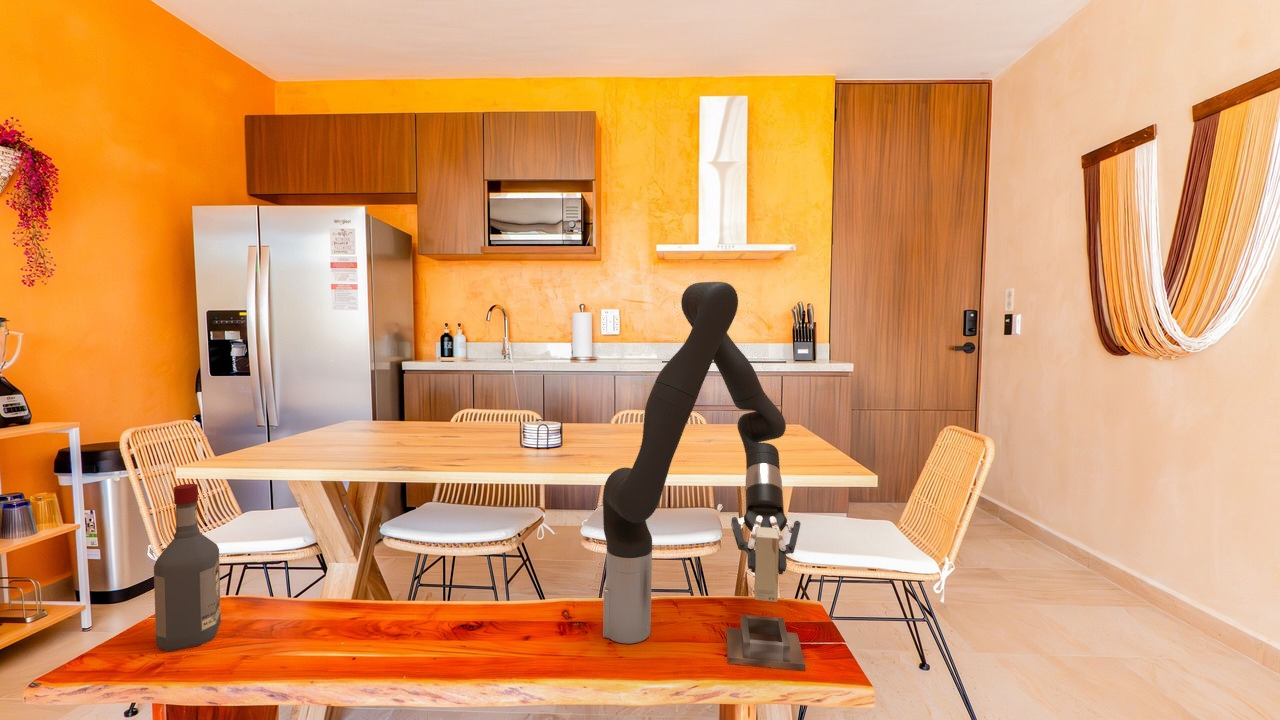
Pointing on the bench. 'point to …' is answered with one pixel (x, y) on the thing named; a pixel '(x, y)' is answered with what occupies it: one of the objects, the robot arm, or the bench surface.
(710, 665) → the bench surface
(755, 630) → the serum holder
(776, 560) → the skincare box
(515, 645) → the bench surface
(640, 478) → the robot arm
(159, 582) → the liquor
